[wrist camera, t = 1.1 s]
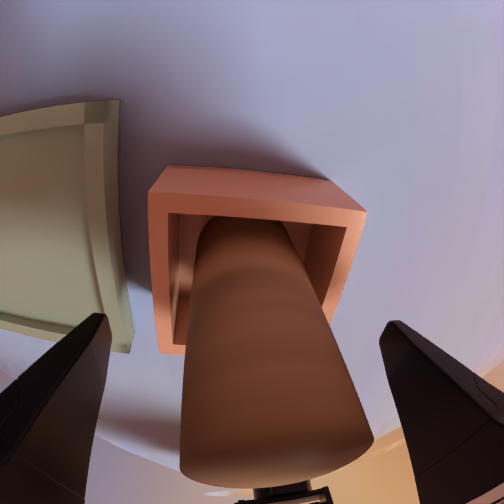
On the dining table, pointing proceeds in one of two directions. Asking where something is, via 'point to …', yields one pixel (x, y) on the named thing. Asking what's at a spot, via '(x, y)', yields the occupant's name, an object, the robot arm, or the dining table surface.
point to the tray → (62, 222)
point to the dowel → (262, 366)
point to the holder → (246, 206)
